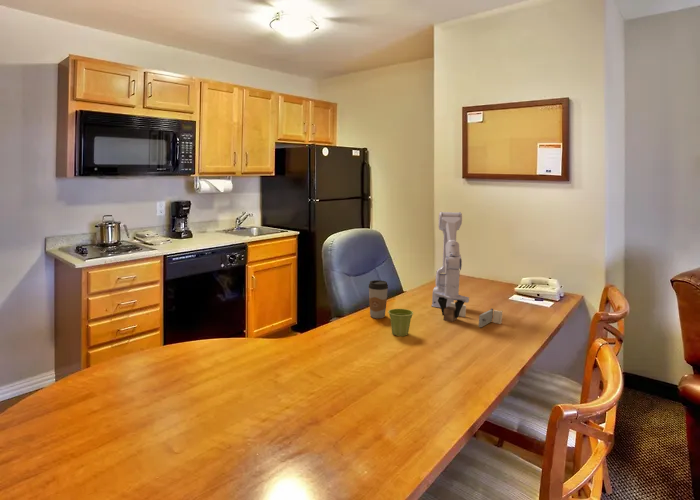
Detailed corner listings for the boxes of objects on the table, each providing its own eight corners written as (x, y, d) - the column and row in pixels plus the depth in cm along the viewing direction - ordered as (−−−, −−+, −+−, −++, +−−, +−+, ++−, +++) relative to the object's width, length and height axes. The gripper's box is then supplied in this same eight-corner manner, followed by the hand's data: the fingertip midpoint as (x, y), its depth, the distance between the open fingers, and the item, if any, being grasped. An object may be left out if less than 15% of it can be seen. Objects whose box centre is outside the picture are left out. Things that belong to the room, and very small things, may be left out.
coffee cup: (365, 317, 187) (365, 283, 185) (371, 312, 195) (372, 279, 192) (383, 320, 184) (384, 285, 181) (389, 314, 191) (390, 281, 189)
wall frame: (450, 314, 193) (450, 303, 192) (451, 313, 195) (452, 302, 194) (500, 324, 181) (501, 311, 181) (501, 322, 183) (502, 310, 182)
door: (483, 327, 175) (484, 315, 174) (478, 326, 177) (479, 314, 176) (495, 321, 184) (496, 309, 183) (490, 320, 185) (491, 308, 184)
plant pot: (385, 329, 172) (386, 308, 171) (409, 329, 173) (410, 308, 171) (389, 338, 163) (390, 315, 161) (415, 338, 164) (415, 315, 162)
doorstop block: (443, 320, 185) (444, 308, 185) (447, 317, 190) (448, 306, 189) (452, 322, 183) (453, 310, 182) (456, 319, 187) (457, 307, 187)
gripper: (431, 284, 185) (430, 315, 187) (465, 289, 177) (463, 321, 179) (438, 281, 191) (437, 311, 193) (471, 285, 183) (469, 317, 185)
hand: (450, 316), depth 186 cm, fingers open, 5 cm apart
